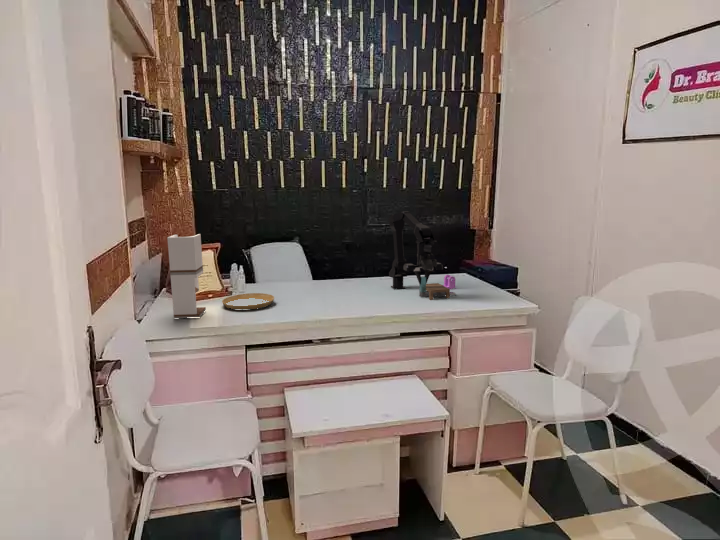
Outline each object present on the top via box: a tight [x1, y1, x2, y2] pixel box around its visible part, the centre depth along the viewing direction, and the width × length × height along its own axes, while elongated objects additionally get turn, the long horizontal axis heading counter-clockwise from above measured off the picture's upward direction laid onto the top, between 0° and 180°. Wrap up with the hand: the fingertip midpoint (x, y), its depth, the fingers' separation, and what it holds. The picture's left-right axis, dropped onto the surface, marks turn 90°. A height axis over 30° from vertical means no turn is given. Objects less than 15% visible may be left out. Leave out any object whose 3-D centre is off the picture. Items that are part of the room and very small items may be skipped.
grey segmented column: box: [166, 233, 206, 319], centre depth 209 cm, size 11×11×35 cm
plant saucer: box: [221, 292, 275, 310], centre depth 229 cm, size 24×24×3 cm
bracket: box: [442, 274, 456, 290], centre depth 259 cm, size 13×6×7 cm, turn 110°
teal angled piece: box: [418, 275, 446, 298], centre depth 243 cm, size 2×14×10 cm, turn 103°
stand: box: [426, 282, 451, 301], centre depth 243 cm, size 15×10×5 cm, turn 13°
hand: (422, 283), depth 241 cm, fingers open, 3 cm apart
